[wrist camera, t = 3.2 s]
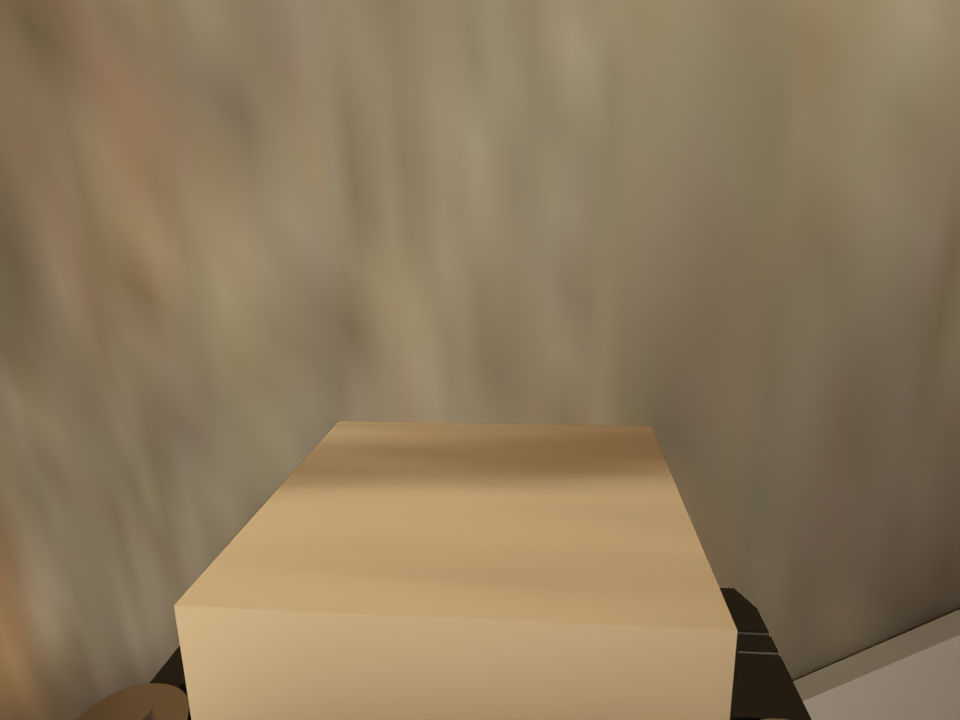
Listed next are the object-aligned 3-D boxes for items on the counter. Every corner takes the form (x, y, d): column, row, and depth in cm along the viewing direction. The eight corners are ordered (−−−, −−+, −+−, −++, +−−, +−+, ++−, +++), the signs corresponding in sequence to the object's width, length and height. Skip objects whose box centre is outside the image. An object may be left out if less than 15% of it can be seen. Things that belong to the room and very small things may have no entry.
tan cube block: (338, 421, 12) (173, 605, 7) (650, 426, 12) (736, 629, 6) (359, 687, 13) (235, 1011, 8) (637, 702, 13) (700, 1062, 8)
